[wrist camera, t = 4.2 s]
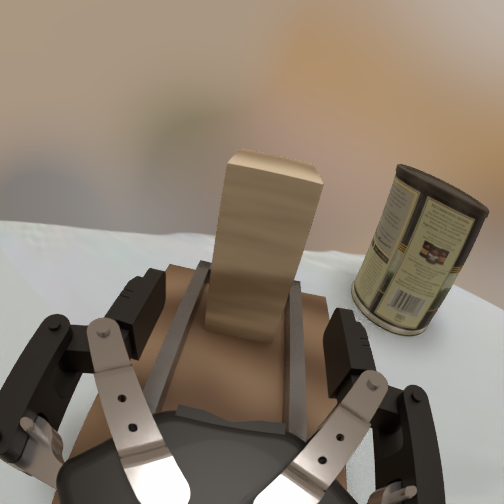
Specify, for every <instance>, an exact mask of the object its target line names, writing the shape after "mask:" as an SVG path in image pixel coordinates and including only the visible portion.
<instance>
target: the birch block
mask: <svg viewBox="0 0 504 504" xmlns="http://www.w3.org/2000/svg"><path fill="white" fill-rule="evenodd" d="M323 185H324V184H323V182H322V180H321V178H320V176H319V175H318V173H317V171H316V169H315V167H314V166H313V164H310V163H306V162H302V161H298V160H294V159H289V158H285V157H281V156H276V155H272V154H267V153H262V152H258V151H253V150H247V149H242V148H240V149H239V150H238V152H237V153H236V154H235V155H234V156H233V157H232V158H231V159H230V161H229V162H228V163H227V167H226V173H225V179H224V186H223V192H222V198H221V205H220V211H219V218H218V224H217V231H216V238H215V245H214V252H213V260H212V267H211V275H210V282H209V290H208V299H207V307H206V316H205V324H204V330H207V331H211V332H216V333H220V334H225V335H229V336H234V337H239V338H244V339H249V340H254V341H259V342H264V343H270V344H271V343H272V340H273V338H274V335H275V332H276V329H277V327H278V324H279V321H280V318H281V316H282V313H283V310H284V307H285V304H286V301H287V298H288V296H289V293H290V290H291V287H292V284H293V281H294V278H295V275H296V272H297V269H298V266H299V263H300V260H301V257H302V254H303V251H304V247H305V244H306V241H307V238H308V235H309V232H310V229H311V225H312V222H313V219H314V215H315V212H316V209H317V205H318V202H319V199H320V195H321V192H322V188H323Z"/></svg>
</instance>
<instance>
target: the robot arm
mask: <svg viewBox="0 0 504 504" xmlns="http://www.w3.org/2000/svg"><path fill="white" fill-rule="evenodd" d="M165 300H166V272H165V271H161V270H157V269H152V268H149V269H148V271H147V272H146V274H145V275H144V277H140V276H136V277H135V278H133V279H132V280H130V281H129V282H128V283H127V285H126V286H125V287H124V290H122V292H121V293H120V295H119V296H118V298H117V299H116V300H115V302H114V303H113V305H112V306H111V308H110V309H109V311H108V312H107V314H106V315H105V317H104V318H98V319H96V320H94V321H92V322H91V323H90V324H89V325H88V326H83V325H70V322H69V320H68V318H67V317H65V316H64V315H61V314H54V315H50V316H48V317H47V318H46V319H44V321H43V322H42V323H41V325H40V326H39V328H38V329H37V331H36V332H35V334H34V335H33V337H32V338H31V340H30V341H29V343H28V344H27V346H26V347H25V349H24V351H23V352H22V354H21V355H20V357H19V359H18V360H17V362H16V364H15V365H14V367H13V369H12V370H11V372H10V374H9V376H8V377H7V379H6V381H5V383H4V385H3V386H2V388H1V390H0V459H1V460H3V461H4V462H6V463H7V464H9V465H10V466H12V467H14V468H15V469H17V470H19V471H22V472H24V473H25V474H27V475H29V476H34V477H35V478H37V479H39V480H41V481H42V482H44V483H46V484H48V485H50V486H51V487H53V488H55V489H57V493H58V498H59V503H60V504H358V503H357V502H356V501H355V500H354V499H353V497H352V496H351V495H350V494H349V493H348V492H347V491H346V490H345V488H344V487H343V486H342V485H341V484H340V483H339V482H338V480H337V479H336V477H337V475H338V474H339V473H340V471H341V470H342V469H343V467H344V466H345V465H346V463H347V462H348V460H349V459H350V457H351V456H352V455H353V453H354V452H355V450H356V449H357V447H358V446H359V444H360V443H361V441H362V440H363V438H364V436H365V435H366V433H367V432H368V430H369V428H372V431H373V443H374V459H375V485H376V491H375V492H373V493H372V494H371V496H370V497H369V499H368V503H367V504H446V503H445V491H444V481H443V473H442V466H441V459H440V453H439V447H438V441H437V436H436V431H435V426H434V422H433V417H432V413H431V408H430V404H429V400H428V396H427V394H426V392H425V391H424V390H423V389H422V388H421V387H419V386H417V385H409V386H407V387H406V388H405V389H404V390H400V389H397V388H394V387H392V386H389V385H388V383H387V380H386V378H385V377H384V376H383V375H382V374H381V373H379V372H377V371H376V367H375V363H374V359H373V355H372V351H371V348H370V344H369V340H368V336H367V333H366V330H365V328H364V327H363V326H362V324H361V323H360V322H356V321H355V317H354V313H353V311H352V310H349V309H343V308H336V309H335V311H334V313H333V315H332V317H331V319H330V321H329V323H328V325H327V327H326V329H325V331H324V334H323V349H324V358H325V368H326V377H327V388H328V398H331V399H337V404H336V406H335V407H334V408H333V409H332V411H331V412H330V413H329V414H328V416H327V417H326V418H325V419H324V420H323V422H322V423H321V424H320V425H319V426H318V428H317V429H316V430H315V431H314V432H313V433H312V434H311V436H310V437H309V438H308V439H307V440H306V441H304V440H302V439H301V438H300V437H298V436H296V435H295V434H293V433H291V432H289V431H286V430H285V423H276V422H268V421H261V420H258V421H244V422H230V421H227V420H225V419H223V418H220V417H218V416H216V415H214V414H211V413H209V412H207V411H205V410H201V409H196V408H192V407H188V406H184V405H180V404H178V408H177V410H170V411H162V412H157V413H154V414H151V412H150V409H149V407H148V405H147V402H146V400H145V397H144V395H143V392H142V390H141V387H140V385H139V382H138V379H137V377H136V374H135V371H134V368H133V366H132V364H131V363H130V360H131V359H134V360H137V361H139V359H140V357H141V355H142V352H143V350H144V348H145V346H146V344H147V342H148V340H149V337H150V335H151V333H152V331H153V329H154V327H155V325H156V323H157V321H158V319H159V317H160V315H161V313H162V311H163V308H164V305H165ZM82 373H92V374H94V377H95V381H96V385H97V389H98V393H99V397H100V400H101V404H102V407H103V410H104V414H105V417H106V420H107V423H108V426H109V429H110V432H111V435H112V437H111V438H109V439H107V440H105V441H103V442H101V443H100V444H98V445H96V446H94V447H92V448H90V449H88V450H86V451H84V452H82V453H80V454H78V455H76V456H74V457H72V458H70V459H69V460H67V461H66V462H65V463H64V461H63V457H62V450H63V441H62V439H61V436H60V435H59V434H58V433H57V431H58V429H59V426H60V424H61V421H62V419H63V416H64V414H65V411H66V409H67V407H68V404H69V402H70V400H71V397H72V395H73V393H74V391H75V388H76V386H77V384H78V382H79V380H80V377H81V375H82Z"/></svg>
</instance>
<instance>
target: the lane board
mask: <svg viewBox="0 0 504 504" xmlns="http://www.w3.org/2000/svg"><path fill="white" fill-rule="evenodd" d="M211 267H212V263H210V262H205V261H201V260H200V262H199V264H198V266H197V268H196V270H194V269H189V268H185V267H181V266H176V265H172V264H169V266H168V268H167V269H166V271H165V272H166V300H165V305H164V308H163V311H162V313H161V315H160V317H159V319H158V321H157V323H156V325H155V327H154V329H153V331H152V333H151V335H150V337H149V340H148V342H147V344H146V346H145V348H144V350H143V352H142V355H141V357H140V359H139V361H137V360H134V359H131V360H130V363H131V364H132V366H133V368H134V371H135V374H136V377H137V379H138V382H139V385H140V387H141V390H142V392H143V395H144V397H145V400H146V402H147V405H148V407H149V409H150V412H151V414H154V413H157V412H162V411H170V410H177V408H178V404H180V405H184V406H188V407H192V408H196V409H201V410H205V411H207V412H209V413H211V414H214V415H216V416H218V417H220V418H223V419H225V420H227V421H230V422H244V421H258V420H261V421H268V422H276V423H285V430H286V431H289V432H291V433H293V434H295V435H296V436H298V437H300V438H301V439H302V440H304V441H306V440H307V439H308V438H309V437H310V436H311V434H312V433H313V432H314V431H315V430H316V429H317V428H318V426H319V425H320V424H321V423H322V422H323V420H324V419H325V418H326V417H327V416H328V414H329V413H330V412H331V411H332V409H333V408H334V407H335V406H336V404H337V399H331V398H328V388H327V377H326V368H325V358H324V349H323V334H324V331H325V329H326V327H327V325H328V323H329V314H328V309H327V303H326V297H323V296H317V295H312V294H307V293H302V292H301V286H300V281H295V280H294V281H293V284H292V287H291V290H290V293H289V296H288V298H287V301H286V304H285V307H284V310H283V313H282V316H281V318H280V321H279V324H278V327H277V329H276V332H275V335H274V338H273V340H272V343H271V344H270V343H264V342H259V341H254V340H249V339H244V338H239V337H234V336H229V335H225V334H220V333H216V332H211V331H207V330H204V324H205V316H206V307H207V299H208V290H209V282H210V275H211ZM111 437H112V435H111V432H110V429H109V426H108V423H107V420H106V417H105V414H104V410H103V407H102V404H101V400H100V397H99V393H98V394H97V396H96V399H95V401H94V403H93V405H92V407H91V409H90V411H89V413H88V415H87V418H86V420H85V422H84V424H83V426H82V429H81V431H80V433H79V435H78V438H77V440H76V442H75V445H74V447H73V449H72V452H71V454H70V456H69V459H70V458H72V457H74V456H76V455H78V454H80V453H82V452H84V451H86V450H88V449H90V448H92V447H94V446H96V445H98V444H100V443H101V442H103V441H105V440H107V439H109V438H111ZM69 459H68V460H69ZM336 479H337V480H338V482H339V483H340V484H341V485H342V486H343V487H344V488H345V490H346V491H347V482H346V465H345V466H344V467H343V469H342V470H341V471H340V473H339V474H338V475H337V477H336ZM52 504H60V503H59V498H58V493H57V490H56V493H55V495H54V498H53V501H52Z"/></svg>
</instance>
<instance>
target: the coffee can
mask: <svg viewBox="0 0 504 504" xmlns="http://www.w3.org/2000/svg"><path fill="white" fill-rule="evenodd" d="M488 214H489V210H488V209H487V207H485V206H484V205H483V204H482V203H480V202H479V201H478V200H476V199H474V198H473V197H471V196H470V195H468V194H466V193H465V192H463V191H461V190H460V189H458V188H456V187H454V186H452V185H450V184H448V183H446V182H444V181H442V180H440V179H438V178H436V177H434V176H432V175H430V174H427V173H425V172H423V171H420V170H418V169H415V168H412V167H409V166H406V165H403V164H398V165H397V168H396V175H395V178H394V181H393V184H392V188H391V190H390V193H389V196H388V199H387V202H386V205H385V208H384V211H383V214H382V216H381V219H380V221H379V224H378V226H377V229H376V232H375V234H374V237H373V240H372V242H371V244H370V247H369V249H368V252H367V254H366V256H365V259H364V261H363V263H362V266H361V268H360V270H359V273H358V275H357V277H356V279H355V281H354V282H353V284H352V288H351V291H352V296H353V298H354V301H355V303H356V304H357V306H358V307H359V308H360V310H361V311H362V312H363V313H364V314H365V315H366V316H367V317H368V318H369V319H370V320H372V321H373V322H374V323H376V324H377V325H379V326H381V327H383V328H385V329H387V330H389V331H391V332H394V333H397V334H402V335H416V334H419V333H422V332H423V331H424V330H425V329H426V328H427V326H428V324H429V322H430V321H431V319H432V318H433V316H434V315H435V313H436V312H437V310H438V308H439V307H440V305H441V303H442V302H443V300H444V299H445V297H446V295H447V294H448V292H449V290H450V289H451V287H452V285H453V283H454V281H455V280H456V278H457V276H458V274H459V272H460V271H461V269H462V267H463V265H464V263H465V261H466V259H467V257H468V255H469V253H470V251H471V249H472V247H473V245H474V243H475V241H476V238H477V236H478V234H479V232H480V229H481V227H482V225H483V222H484V220H485V218H487V216H488Z"/></svg>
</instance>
